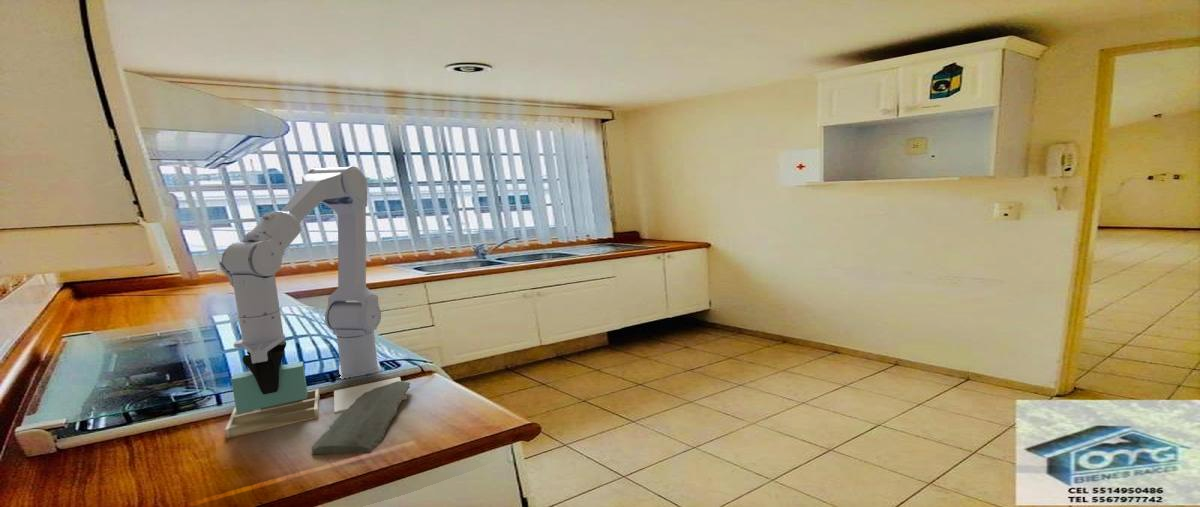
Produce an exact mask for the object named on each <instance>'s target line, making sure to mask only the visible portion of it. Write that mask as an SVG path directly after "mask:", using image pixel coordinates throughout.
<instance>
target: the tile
mask: <svg viewBox="0 0 1200 507" xmlns="http://www.w3.org/2000/svg"><path fill="white" fill-rule="evenodd" d="M397 381H401V382H402V380H401V377H400V376H398V377H397V376H396V377H392V378H388V379H384V380H379V381H375V382H374V381H373V382H370V383H366V384H365V383H364V384H360V385H355V386H350V387H346V388H341V389H337V390H333V396H334V397H333V403H334V406H333V407H334V410H333V412H334V414H338V413H344V412H345V411H346V410H348V409H349V407H350V406H351V405H352V404H353V403H354V402H355V401H356V399H357V398H359V397H360V396H361V395H363V394H364V393H365V392H369V391H371V390H372V389H375V388H377V387H381V386H385V385H388V384H391V383H394V382H397ZM404 400H407V392H406V393H405V395H404V398H403V400H402V401H404Z"/></svg>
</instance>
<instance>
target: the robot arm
mask: <svg viewBox="0 0 1200 507" xmlns="http://www.w3.org/2000/svg"><path fill="white" fill-rule="evenodd" d="M301 183H302V184H301V185H300V187H299V188H298V189H297V190H296V192H295V193H294V194H293V195H292V197H291V198H290V199H289V201H288V202H287V203H286V204H285V205H284V207H283V208H282V209H281V210H273V211H270V212H265V213H264V214H263V215H262V216H261V218H262V219H261V221H259V223H258V224H257V225H256V226H255V227H254V228H253V229H252V230H251V231H250V232H249V231H248V232H247V233H246V234H245V235H244V238H243V239H242V241H237V242H234V243H231V244H230V245H228V246H227V247H226V249H224V251H223V252H222V255H221V261H219V262H218V264H219V267H220V269H221V271H222V272H223V273H224V275H226V276H227V277H228V279H229V285H230V286H231V287H232V288H233V291H234V299H235V302H236V310H237V315H238V320H239V327H240V333H241V339H238V340H235V341H234V343H233V347H234V348H236V349H237V348H242V349H244V350H245V351H246V355H244V356H243V357H242V363H243V365H244V366H245V367H246V368H248V369H250V371H251V372H252V373H253V375H254V377H255V379H256V381H257V383H258V385H259V388H260V390H261V392H262V393H263V394H269V393H274V392H277V391H278V386H279V368H280V366H281V365H282V359H283V356H284V354H285V349H286V347H287V341H285V340H286V334H285V333H284V330H283V323H282V316H281V308H280V302H279V295H278V289H277V282H276V276H275V275H276V273H277V272H278V271H279V270H280V269H281V267H282V262H283V256H284V255H285V251H286V250H287V248H288V247H289V246H290V245H291V244H292V243H293V242H294V240H295V239H296V238H297V237H298V236H299V234H300V233H301V230H302V228H301V224H300V223H301V222H302V221H303V220H304V219H305V218H306V217H307V216H309V215H310V213H312V211H314V210H315V209H316V208H317V207H319V205H320V204H323V205H324V206H326V207H328V208H329V209H332V210H333V212H335V213H336V214H337V254H338V255H337V266H338V267H337V273H338V274H337V276H338V277H337V279H338V280H337V285H338V286H337V289H336V290H335V291H333V292H332V293H331V294H330V295H329V296H328V298H327V307H326V310H325V313H324V322H325V325H326V327H327V328H328V329H329V330H331V331H332V334H333V336H334V335H335V336H336V341H337V342H336V343H337V348H338V357H339V364H338V372H339V373H338V375H339V374H340V375H341V376H340V377H339V376H338V378H341V379H340V380H344V378H346V379H350V378H349V377H351V378H355V376H356V377H361V376H366V375H370V374H374V373H380V372H381V371H382V368H381V365H380V362H379V358H378V356H377V347H376V338H375V331H376V330H377V329H378V326H379V325H380V322H381V320H382V310H381V309H380V308H381V307H380V305H379V296H378V295H377V294H376V293H374V292H373V291H372V290H370V289H369V288H368V287H367V230H366V229H367V222H366V221H367V209H366V208H367V206H368V179H367V178H366V176H365V175H364V173H363V172H362V171H361V169H359V168H358V167H357V166H354V165H349V166H346V167H323V168H322V167H313V168H309V170H308V171H307V172H306V174H304V175H303V176H302V177H301Z"/></svg>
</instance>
